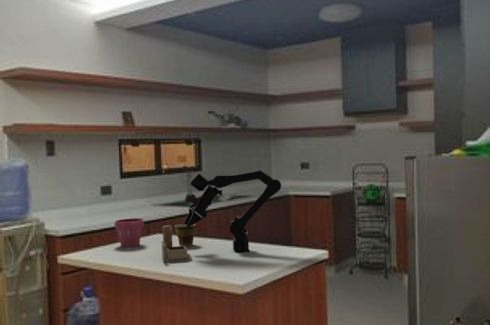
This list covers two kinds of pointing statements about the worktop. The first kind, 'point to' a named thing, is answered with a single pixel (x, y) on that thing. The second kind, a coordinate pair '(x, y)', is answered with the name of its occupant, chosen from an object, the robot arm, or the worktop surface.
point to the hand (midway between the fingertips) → (186, 225)
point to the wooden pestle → (167, 236)
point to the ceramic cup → (185, 234)
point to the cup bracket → (175, 254)
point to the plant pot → (129, 231)
